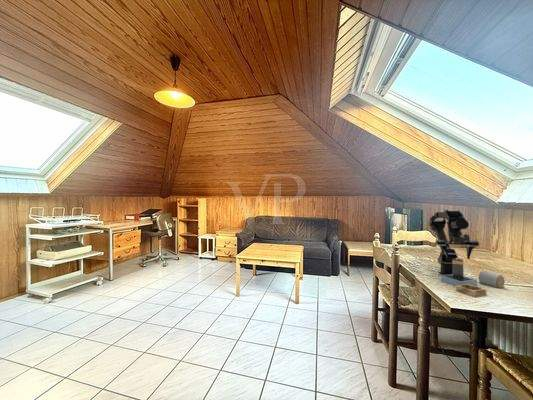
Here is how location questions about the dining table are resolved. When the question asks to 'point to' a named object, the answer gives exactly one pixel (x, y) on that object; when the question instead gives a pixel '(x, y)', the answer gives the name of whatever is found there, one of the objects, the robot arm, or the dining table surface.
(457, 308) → the dining table surface
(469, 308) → the dining table surface
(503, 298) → the dining table surface
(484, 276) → the grey cylinder
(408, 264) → the dining table surface
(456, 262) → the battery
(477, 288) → the brown wooden square box
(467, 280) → the tray
